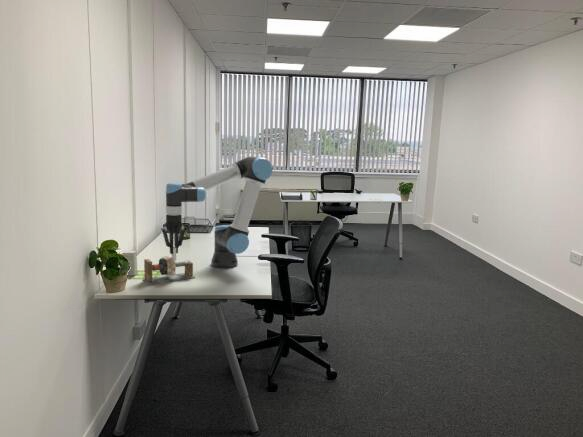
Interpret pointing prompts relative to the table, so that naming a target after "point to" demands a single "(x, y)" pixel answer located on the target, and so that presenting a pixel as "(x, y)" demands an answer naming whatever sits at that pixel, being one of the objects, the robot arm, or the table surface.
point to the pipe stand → (162, 279)
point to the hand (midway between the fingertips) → (173, 259)
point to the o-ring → (165, 267)
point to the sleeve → (170, 265)
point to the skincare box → (131, 261)
